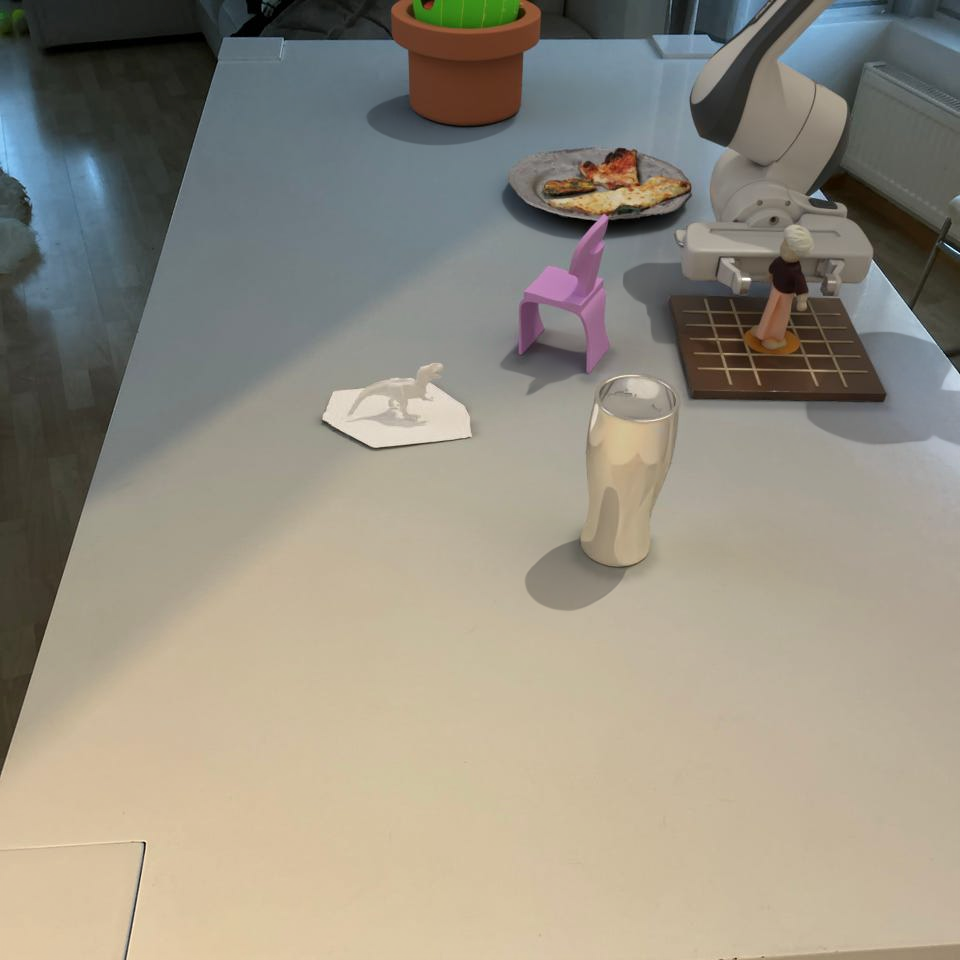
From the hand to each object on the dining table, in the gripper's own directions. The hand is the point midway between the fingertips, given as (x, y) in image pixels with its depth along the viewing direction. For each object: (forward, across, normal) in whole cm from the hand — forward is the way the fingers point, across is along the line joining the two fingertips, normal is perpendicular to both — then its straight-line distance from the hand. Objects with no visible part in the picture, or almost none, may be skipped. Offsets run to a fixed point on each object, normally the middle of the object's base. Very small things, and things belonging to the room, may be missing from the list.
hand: (788, 289), depth 102 cm
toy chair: (0, -23, +8) cm, 24 cm away
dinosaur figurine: (+13, -40, +8) cm, 43 cm away
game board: (-1, 0, +8) cm, 8 cm away
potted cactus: (-73, -35, +8) cm, 81 cm away
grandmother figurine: (-1, 0, +7) cm, 7 cm away
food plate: (-40, -16, +8) cm, 44 cm away
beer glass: (+32, -20, +8) cm, 39 cm away
